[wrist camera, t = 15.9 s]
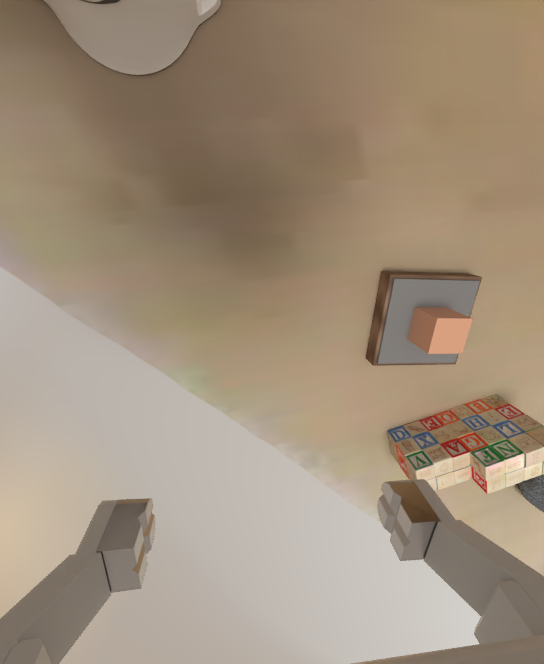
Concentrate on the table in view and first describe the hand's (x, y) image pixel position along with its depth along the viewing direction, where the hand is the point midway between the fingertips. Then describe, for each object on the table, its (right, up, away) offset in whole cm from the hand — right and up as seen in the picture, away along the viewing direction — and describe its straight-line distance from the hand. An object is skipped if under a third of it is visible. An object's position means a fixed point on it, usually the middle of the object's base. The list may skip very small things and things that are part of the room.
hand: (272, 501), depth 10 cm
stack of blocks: (+32, -11, +45) cm, 56 cm away
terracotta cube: (+23, +7, +33) cm, 41 cm away
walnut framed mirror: (+23, +8, +36) cm, 43 cm away
